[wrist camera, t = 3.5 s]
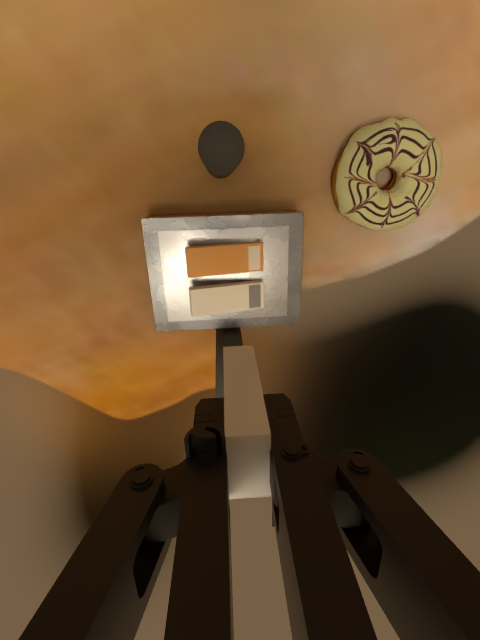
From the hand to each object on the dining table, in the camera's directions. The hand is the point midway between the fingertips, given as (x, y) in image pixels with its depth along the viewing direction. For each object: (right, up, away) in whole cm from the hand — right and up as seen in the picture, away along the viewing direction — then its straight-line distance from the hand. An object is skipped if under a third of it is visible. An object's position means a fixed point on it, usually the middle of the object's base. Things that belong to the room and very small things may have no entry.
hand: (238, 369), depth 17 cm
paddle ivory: (-1, +5, +17) cm, 18 cm away
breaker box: (-2, +9, +22) cm, 23 cm away
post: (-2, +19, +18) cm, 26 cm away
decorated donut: (+15, +18, +19) cm, 30 cm away
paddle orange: (-1, +9, +16) cm, 18 cm away
